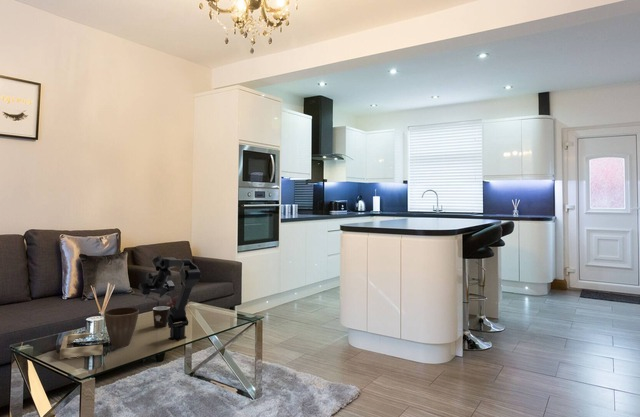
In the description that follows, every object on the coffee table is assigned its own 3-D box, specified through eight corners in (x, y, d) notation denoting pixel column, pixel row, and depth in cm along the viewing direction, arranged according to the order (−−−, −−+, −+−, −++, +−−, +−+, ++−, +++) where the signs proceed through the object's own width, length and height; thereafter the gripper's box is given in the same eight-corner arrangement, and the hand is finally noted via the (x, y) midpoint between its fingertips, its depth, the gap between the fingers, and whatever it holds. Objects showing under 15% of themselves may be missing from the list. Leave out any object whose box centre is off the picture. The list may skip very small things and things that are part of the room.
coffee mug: (148, 326, 222) (149, 308, 222) (161, 323, 230) (162, 305, 230) (163, 330, 217) (164, 311, 217) (175, 326, 224) (176, 308, 224)
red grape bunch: (183, 306, 270) (184, 291, 270) (194, 308, 266) (195, 293, 266) (162, 311, 254) (163, 296, 254) (174, 314, 250) (175, 298, 250)
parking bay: (102, 339, 198) (102, 331, 198) (102, 354, 179) (102, 345, 179) (64, 343, 190) (64, 335, 191) (59, 359, 171) (60, 350, 171)
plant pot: (114, 352, 182) (116, 316, 182) (96, 345, 189) (97, 311, 190) (144, 343, 194) (145, 310, 195) (125, 337, 202) (126, 305, 202)
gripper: (170, 266, 229) (161, 286, 234) (139, 268, 214) (129, 290, 219) (179, 278, 223) (169, 300, 228) (147, 282, 208) (138, 304, 213)
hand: (152, 298), depth 222 cm, fingers open, 9 cm apart
